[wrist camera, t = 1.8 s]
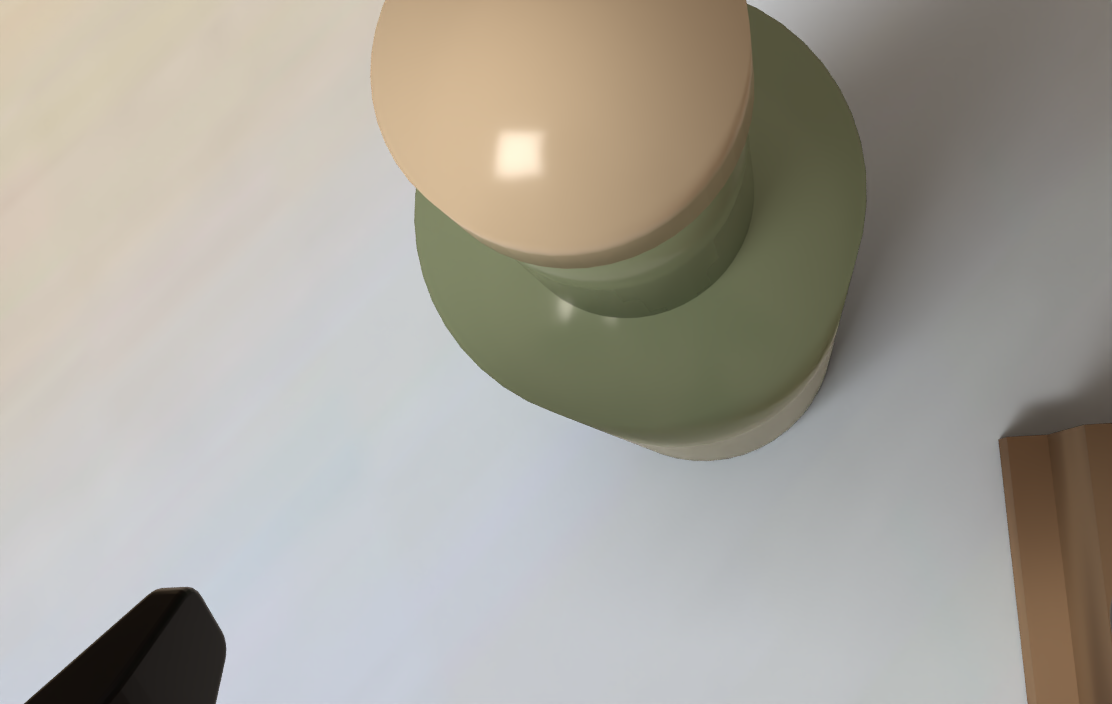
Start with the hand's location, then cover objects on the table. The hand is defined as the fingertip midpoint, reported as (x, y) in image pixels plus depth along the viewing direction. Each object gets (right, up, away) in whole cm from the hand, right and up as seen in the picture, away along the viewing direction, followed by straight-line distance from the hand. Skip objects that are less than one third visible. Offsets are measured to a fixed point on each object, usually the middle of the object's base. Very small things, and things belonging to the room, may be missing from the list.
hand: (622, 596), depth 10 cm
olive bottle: (+2, +3, +11) cm, 12 cm away
